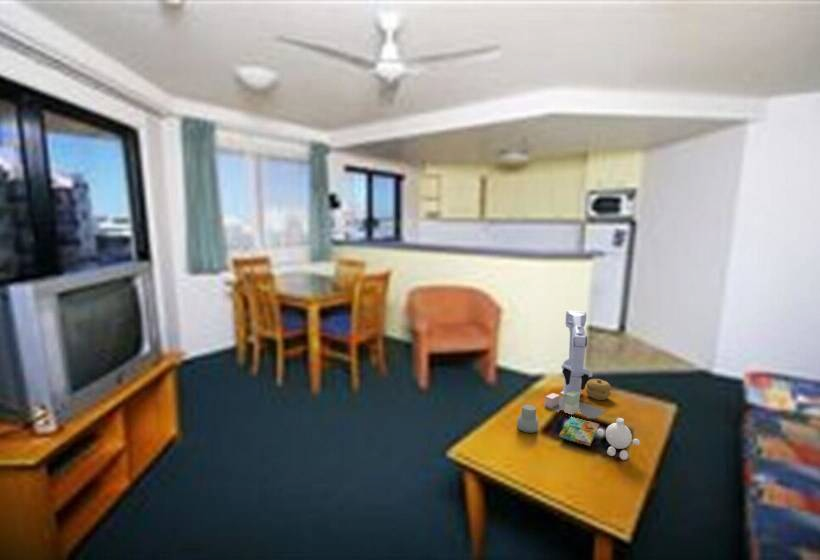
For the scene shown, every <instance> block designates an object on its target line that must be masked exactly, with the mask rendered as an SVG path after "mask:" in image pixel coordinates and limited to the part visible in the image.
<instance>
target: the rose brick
mask: <svg viewBox="0 0 820 560" xmlns="http://www.w3.org/2000/svg"><path fill="white" fill-rule="evenodd" d="M544 398H545V400H544V405H545V406H547V407H550V408H552V407H554V406H556V405H558V404H559V398H560V394H558V393H554V392H552V393H550V394H547V395H545V397H544Z"/></svg>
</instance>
